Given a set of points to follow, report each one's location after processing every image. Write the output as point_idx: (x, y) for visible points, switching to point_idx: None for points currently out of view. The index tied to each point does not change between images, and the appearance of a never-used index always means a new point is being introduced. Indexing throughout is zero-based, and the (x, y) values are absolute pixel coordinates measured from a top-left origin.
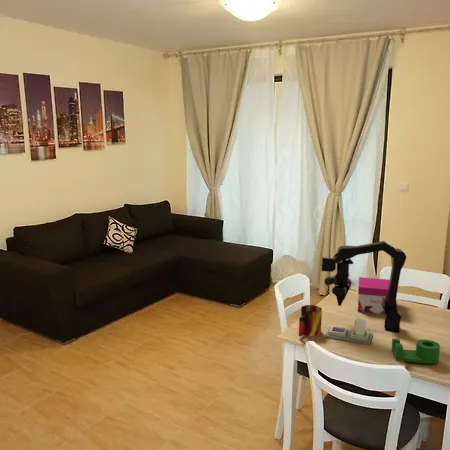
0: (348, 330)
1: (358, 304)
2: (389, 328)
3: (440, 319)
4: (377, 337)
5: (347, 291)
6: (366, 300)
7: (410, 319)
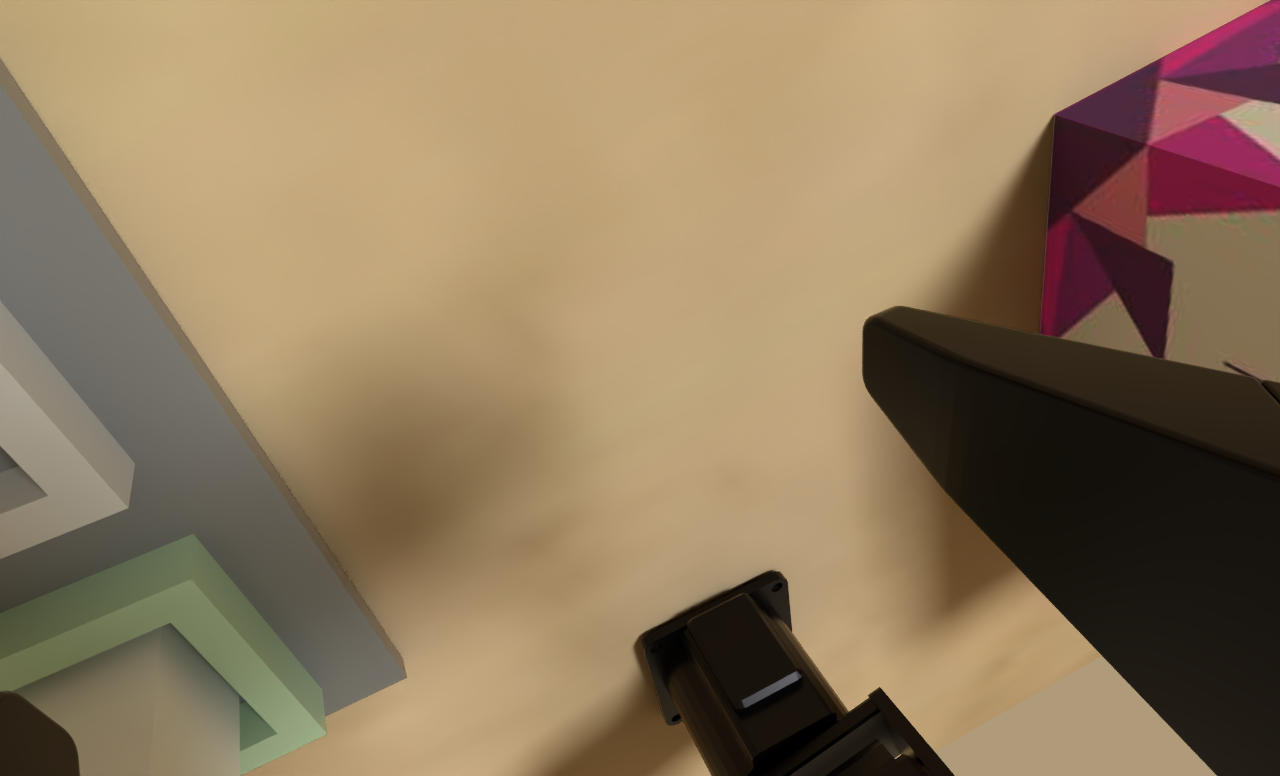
0: (195, 448)
1: (1208, 169)
2: (673, 678)
3: (1068, 660)
4: (378, 716)
5: (1225, 772)
6: (1271, 325)
7: (1020, 571)
